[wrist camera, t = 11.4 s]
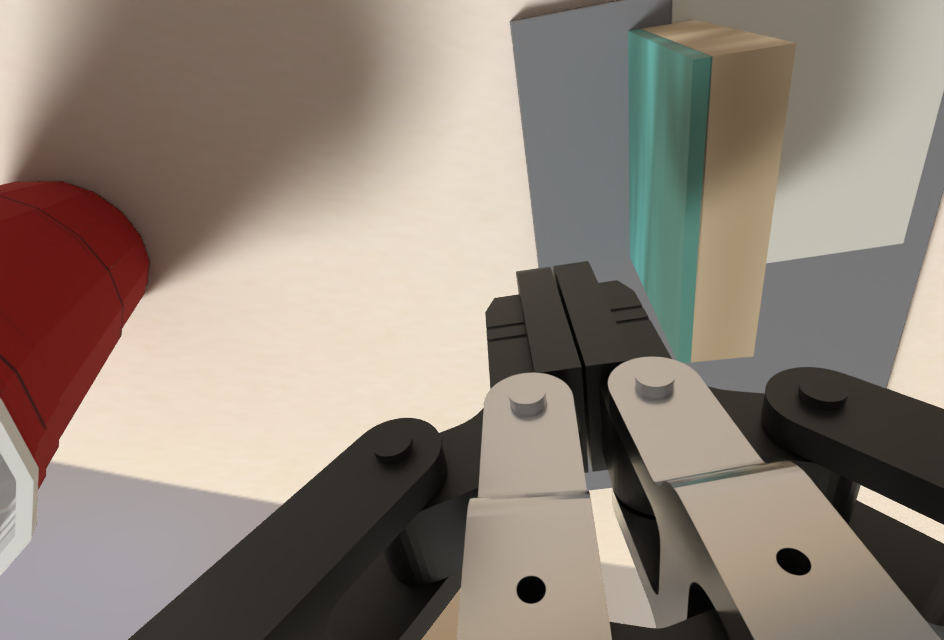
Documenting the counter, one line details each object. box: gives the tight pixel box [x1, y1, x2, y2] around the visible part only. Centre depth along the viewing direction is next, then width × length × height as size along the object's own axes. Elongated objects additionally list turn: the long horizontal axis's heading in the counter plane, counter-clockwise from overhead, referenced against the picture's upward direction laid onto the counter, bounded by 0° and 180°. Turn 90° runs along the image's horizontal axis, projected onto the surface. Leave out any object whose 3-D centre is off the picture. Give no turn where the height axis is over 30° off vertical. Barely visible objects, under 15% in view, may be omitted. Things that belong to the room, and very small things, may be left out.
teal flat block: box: [628, 20, 796, 363], centre depth 16 cm, size 2×8×7 cm, turn 9°
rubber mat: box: [510, 0, 944, 490], centre depth 23 cm, size 15×22×1 cm
